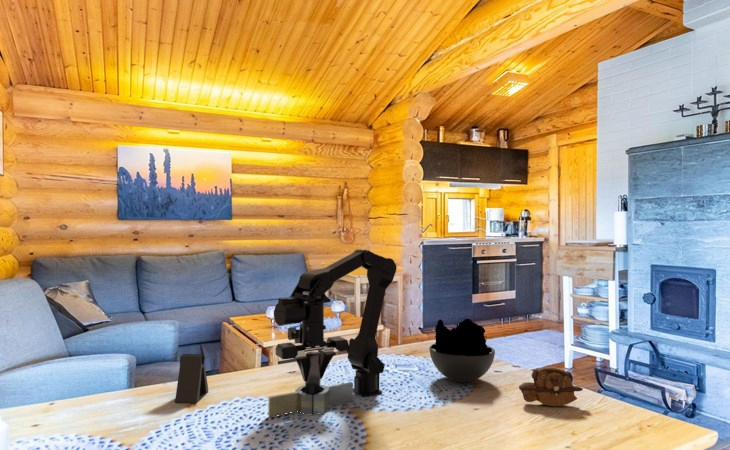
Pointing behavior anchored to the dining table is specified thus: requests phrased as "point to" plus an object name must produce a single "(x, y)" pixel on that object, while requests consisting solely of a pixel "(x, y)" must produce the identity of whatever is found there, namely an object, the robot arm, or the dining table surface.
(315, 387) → the hinge pin
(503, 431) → the dining table surface
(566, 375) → the wooden carving
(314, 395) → the hinge
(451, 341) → the coal bowl
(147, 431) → the dining table surface
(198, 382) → the phone stand
